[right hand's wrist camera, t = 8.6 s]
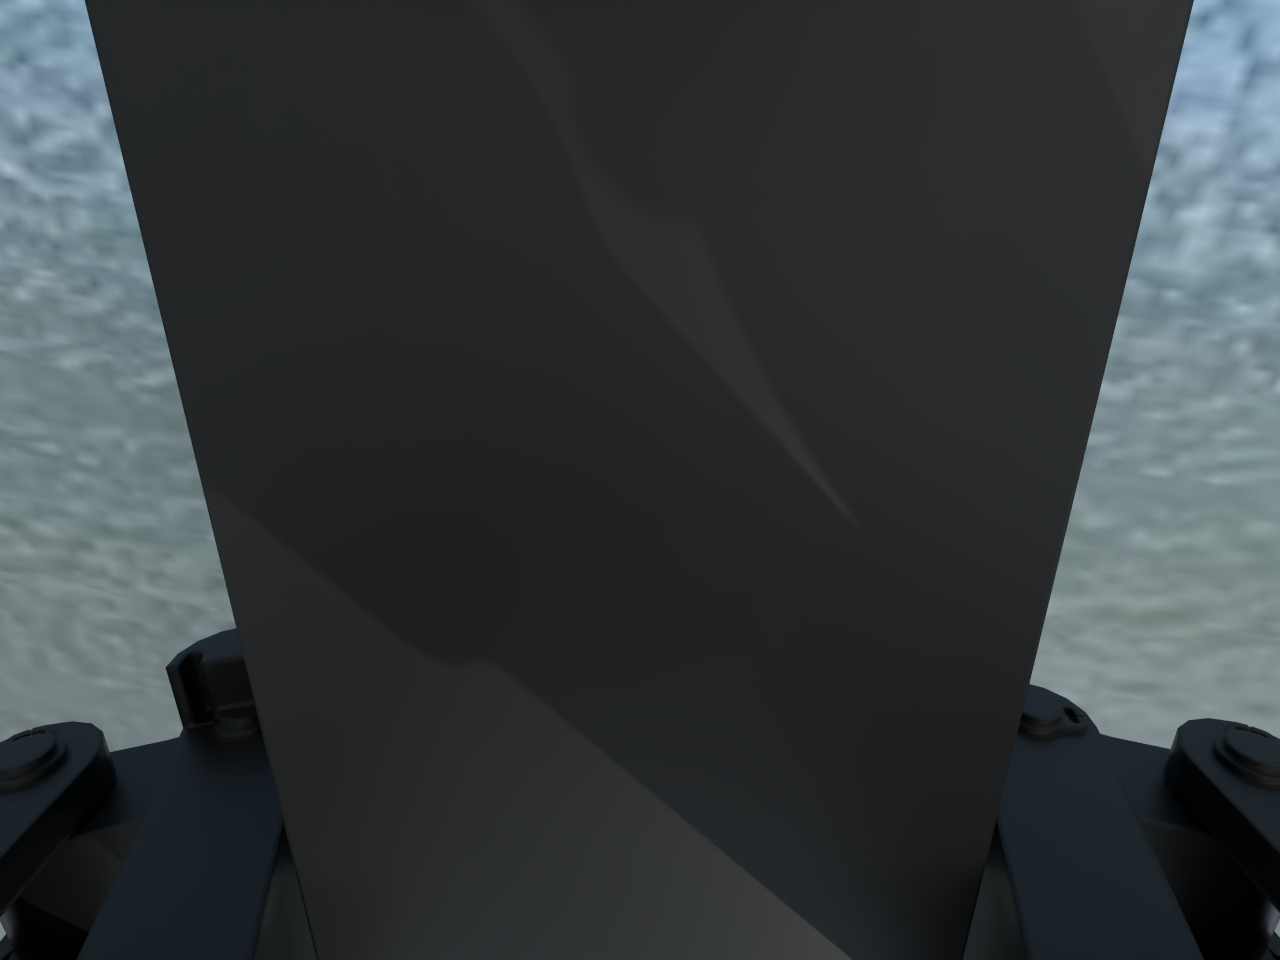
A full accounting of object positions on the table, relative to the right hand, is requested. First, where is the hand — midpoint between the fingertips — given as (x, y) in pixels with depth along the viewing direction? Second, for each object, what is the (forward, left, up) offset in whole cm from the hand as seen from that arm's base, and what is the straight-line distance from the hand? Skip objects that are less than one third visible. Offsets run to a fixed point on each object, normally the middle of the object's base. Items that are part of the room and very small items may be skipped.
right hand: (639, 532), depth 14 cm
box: (-2, +7, -1) cm, 7 cm away
